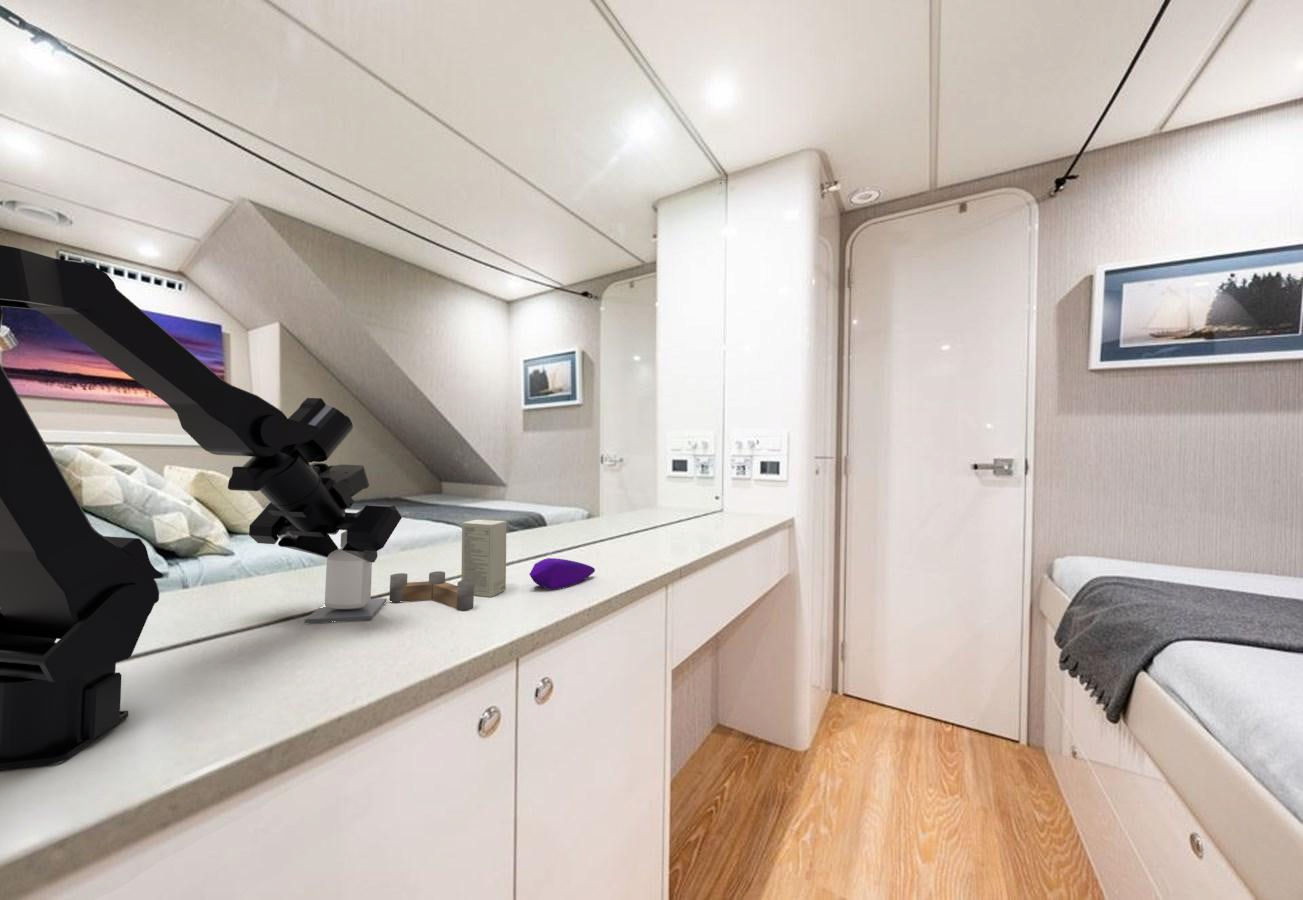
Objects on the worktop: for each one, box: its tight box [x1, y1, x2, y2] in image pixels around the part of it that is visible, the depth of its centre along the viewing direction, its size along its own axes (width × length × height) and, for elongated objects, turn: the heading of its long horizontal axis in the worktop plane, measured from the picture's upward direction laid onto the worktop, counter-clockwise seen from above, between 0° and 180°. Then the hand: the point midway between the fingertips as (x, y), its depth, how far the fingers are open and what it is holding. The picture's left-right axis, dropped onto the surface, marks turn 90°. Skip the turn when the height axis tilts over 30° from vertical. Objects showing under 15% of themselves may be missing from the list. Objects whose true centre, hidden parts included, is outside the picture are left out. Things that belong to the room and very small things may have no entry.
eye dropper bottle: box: [324, 530, 373, 609], centre depth 68 cm, size 4×6×12 cm
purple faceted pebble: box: [529, 557, 596, 590], centre depth 86 cm, size 5×5×15 cm
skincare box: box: [460, 518, 507, 598], centre depth 80 cm, size 6×4×12 cm
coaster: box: [304, 597, 388, 624], centre depth 68 cm, size 8×8×1 cm
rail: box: [389, 570, 475, 612], centre depth 73 cm, size 13×8×4 cm, turn 106°
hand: (356, 558), depth 69 cm, fingers closed on eye dropper bottle, 5 cm apart
